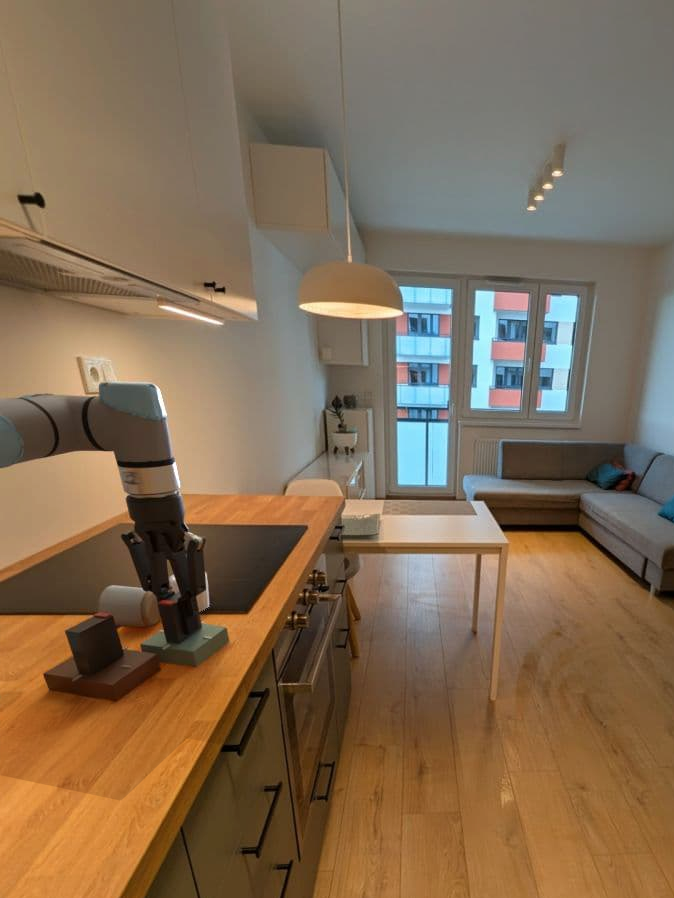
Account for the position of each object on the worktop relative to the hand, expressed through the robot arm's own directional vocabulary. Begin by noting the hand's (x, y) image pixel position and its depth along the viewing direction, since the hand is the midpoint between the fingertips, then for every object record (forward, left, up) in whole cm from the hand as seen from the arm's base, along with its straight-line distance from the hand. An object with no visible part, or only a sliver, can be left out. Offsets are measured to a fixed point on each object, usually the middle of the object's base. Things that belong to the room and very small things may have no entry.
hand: (183, 629), depth 86 cm
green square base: (0, 0, -4) cm, 4 cm away
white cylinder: (-10, +15, -4) cm, 19 cm away
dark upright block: (0, 0, -1) cm, 1 cm away
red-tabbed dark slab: (-6, -11, -1) cm, 13 cm away
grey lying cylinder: (-16, +7, -4) cm, 18 cm away
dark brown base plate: (-6, -11, -4) cm, 13 cm away
